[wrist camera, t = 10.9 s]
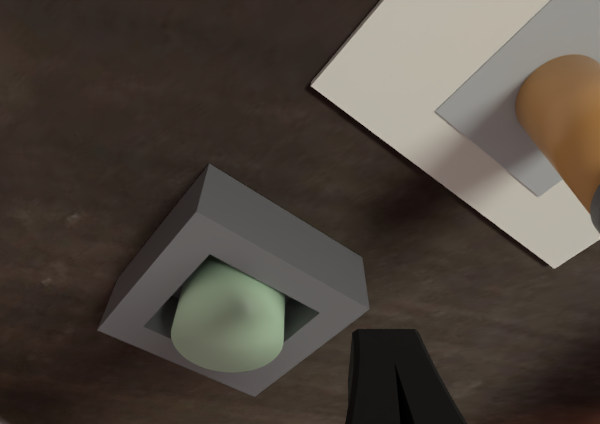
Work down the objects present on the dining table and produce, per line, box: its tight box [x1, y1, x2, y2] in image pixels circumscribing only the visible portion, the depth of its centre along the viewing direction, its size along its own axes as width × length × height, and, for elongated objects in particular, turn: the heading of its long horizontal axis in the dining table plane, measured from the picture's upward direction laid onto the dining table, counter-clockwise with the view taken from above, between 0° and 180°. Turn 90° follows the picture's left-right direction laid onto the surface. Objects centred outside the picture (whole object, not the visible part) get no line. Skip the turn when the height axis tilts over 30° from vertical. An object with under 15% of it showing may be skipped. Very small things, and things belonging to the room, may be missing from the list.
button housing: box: [97, 164, 369, 397], centre depth 22 cm, size 8×8×3 cm
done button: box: [171, 254, 285, 373], centre depth 21 cm, size 4×4×3 cm
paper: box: [311, 0, 600, 269], centre depth 17 cm, size 14×10×1 cm
